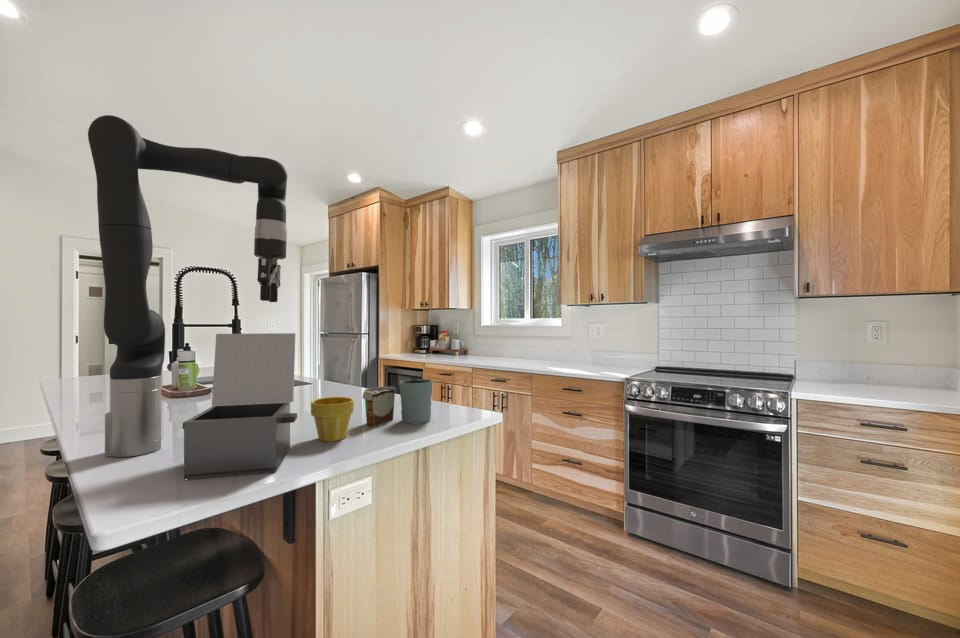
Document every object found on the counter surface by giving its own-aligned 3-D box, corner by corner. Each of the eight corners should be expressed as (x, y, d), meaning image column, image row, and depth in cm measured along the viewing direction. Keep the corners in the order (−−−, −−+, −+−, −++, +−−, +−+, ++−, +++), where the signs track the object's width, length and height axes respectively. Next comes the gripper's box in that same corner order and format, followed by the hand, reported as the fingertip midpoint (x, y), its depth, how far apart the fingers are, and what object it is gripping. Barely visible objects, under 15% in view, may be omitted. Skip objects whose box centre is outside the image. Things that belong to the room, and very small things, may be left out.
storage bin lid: (216, 333, 98) (219, 335, 101) (211, 405, 96) (215, 405, 98) (294, 333, 103) (296, 334, 105) (292, 401, 100) (294, 401, 102)
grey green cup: (405, 425, 121) (405, 384, 121) (394, 418, 130) (394, 379, 130) (438, 421, 126) (438, 381, 126) (425, 415, 135) (425, 377, 135)
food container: (379, 417, 132) (379, 385, 132) (396, 419, 129) (396, 386, 129) (353, 426, 120) (353, 391, 120) (371, 428, 118) (371, 393, 118)
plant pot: (345, 444, 103) (345, 404, 103) (303, 443, 103) (303, 404, 103) (358, 432, 114) (358, 396, 114) (320, 432, 114) (320, 396, 114)
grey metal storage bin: (169, 481, 79) (169, 422, 79) (201, 455, 95) (201, 406, 95) (289, 471, 85) (289, 416, 85) (300, 447, 100) (301, 401, 100)
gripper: (261, 243, 116) (260, 302, 116) (247, 232, 102) (245, 299, 102) (291, 245, 118) (289, 303, 118) (280, 235, 104) (279, 300, 104)
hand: (269, 301), depth 110 cm, fingers open, 8 cm apart
